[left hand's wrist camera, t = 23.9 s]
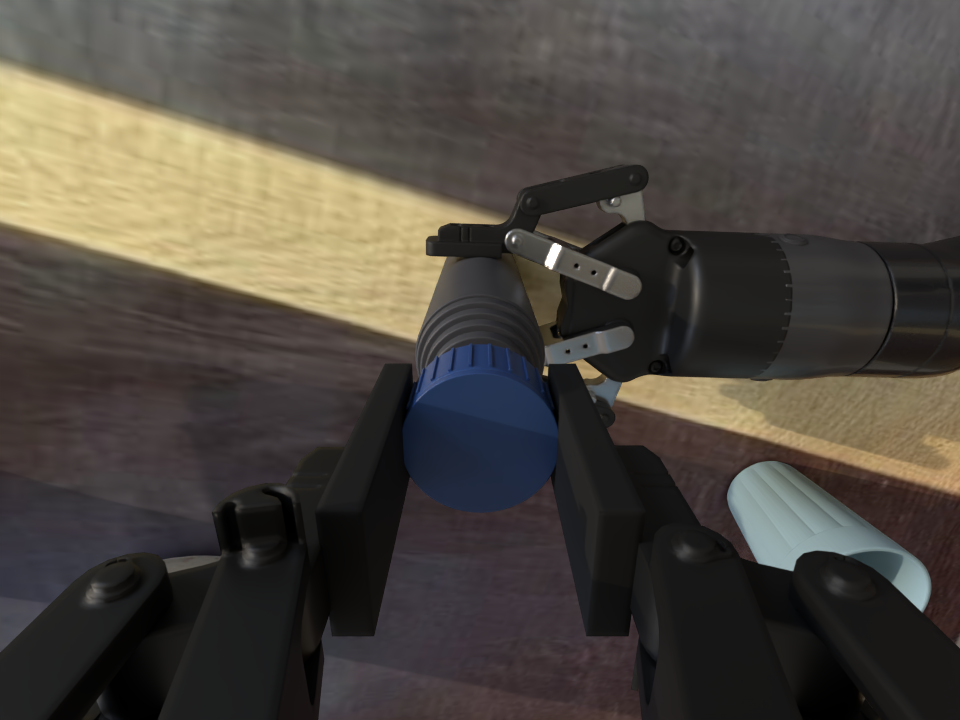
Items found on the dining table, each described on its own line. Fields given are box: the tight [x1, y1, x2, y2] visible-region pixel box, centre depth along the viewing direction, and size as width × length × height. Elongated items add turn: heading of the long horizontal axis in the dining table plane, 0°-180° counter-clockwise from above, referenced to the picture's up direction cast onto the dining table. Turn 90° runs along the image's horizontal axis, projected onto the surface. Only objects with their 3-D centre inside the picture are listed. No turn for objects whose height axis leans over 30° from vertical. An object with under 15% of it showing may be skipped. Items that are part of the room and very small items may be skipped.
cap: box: [402, 343, 558, 513], centre depth 14 cm, size 4×4×2 cm
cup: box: [727, 461, 931, 613], centre depth 33 cm, size 8×8×10 cm
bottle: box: [415, 253, 545, 377], centre depth 23 cm, size 5×5×20 cm
